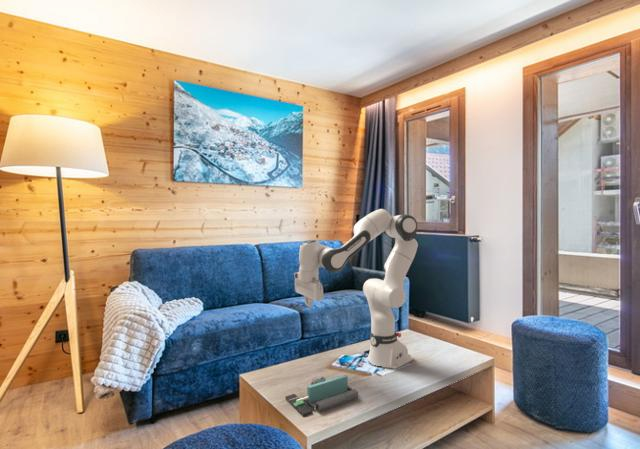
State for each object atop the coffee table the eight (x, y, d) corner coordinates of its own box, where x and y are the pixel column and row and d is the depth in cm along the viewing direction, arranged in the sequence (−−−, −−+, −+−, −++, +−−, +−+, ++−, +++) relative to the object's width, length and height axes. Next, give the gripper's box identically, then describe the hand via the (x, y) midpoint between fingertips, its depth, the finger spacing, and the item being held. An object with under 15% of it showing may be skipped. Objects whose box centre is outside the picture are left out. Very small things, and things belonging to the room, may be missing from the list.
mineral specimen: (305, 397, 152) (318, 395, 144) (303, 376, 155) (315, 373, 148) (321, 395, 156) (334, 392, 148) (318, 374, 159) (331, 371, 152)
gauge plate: (345, 389, 150) (345, 374, 150) (347, 390, 149) (347, 376, 149) (295, 405, 138) (295, 389, 138) (297, 407, 137) (297, 391, 137)
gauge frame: (338, 382, 157) (338, 375, 156) (360, 398, 144) (360, 390, 144) (285, 399, 143) (285, 391, 143) (304, 418, 131) (304, 409, 130)
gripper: (327, 279, 160) (327, 310, 161) (303, 271, 177) (304, 300, 178) (314, 281, 157) (314, 313, 157) (292, 273, 174) (292, 302, 175)
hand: (308, 306), depth 168 cm, fingers closed
